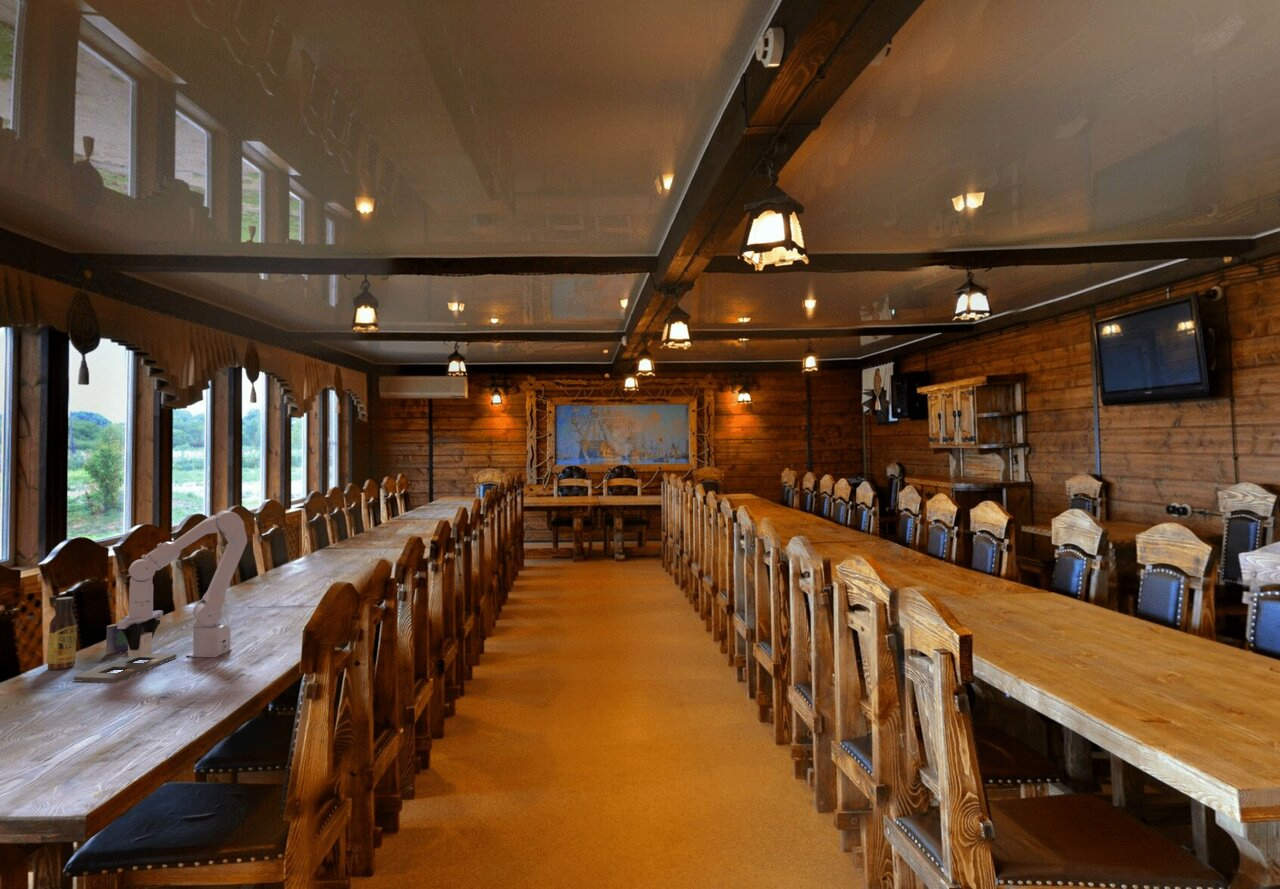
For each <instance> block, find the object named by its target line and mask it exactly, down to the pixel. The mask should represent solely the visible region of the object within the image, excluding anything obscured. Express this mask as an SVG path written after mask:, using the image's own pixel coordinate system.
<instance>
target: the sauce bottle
mask: <svg viewBox="0 0 1280 889" xmlns="http://www.w3.org/2000/svg"><path fill="white" fill-rule="evenodd" d="M74 601H75V600H74V597H73V596H63V597H58V598H55V601H54V603H55V614H54V616H53V618H52V619H51V621H50V623H49V631H48V644H47V645H48V646H47V669H48V670H50V671H55V670H65V669H69V668H72V667H74V666H75V664H76V663H75V662H76V656H77V638H78V637H77V634H78V624H77V622H76V619H75V616H74V610H73V607H74V606H73V605H74ZM73 665H74V666H73Z"/></svg>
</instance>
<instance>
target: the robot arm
mask: <svg viewBox="0 0 1280 889" xmlns="http://www.w3.org/2000/svg"><path fill="white" fill-rule="evenodd" d="M219 531H220V532H221V533H222V534H223V536H224V538H225V539H226V542H227V545H226V547H225V550H224V551H223V553H222V556H221V558H220V560H219V563H218V566H217V568H216V570H215V573H214V575H213V577H212V579H211V581H210V583H209V586H208V589H207V591H206V592H205V593H204V594H203V596H202V599H200V601H199V602H198V603H197V604H196V605H195V606H194V608H193V612H192V613H193V616H194V618H195V619H196V620H195V622H194V623H193V626H192V628H193V630H192V632H193V633H192V638H193V639H192V652H190V653H188V654H186V655H185V657H186V656H189V657H188V658H217V657H220V656H222V655H224V654H226V653H228V651H229V652H230V650H231V651H232V650H233V649H232V648H231V628H230V627H229V626H228V625H224V624H222V621H221V618H222V609H223V605H224V599H225V595H226V593H227V591H228V588H229V586H230V583H231V581H232V579H233V576H234V574H235V572H236V569H237V568H238V565H239V562H240V561H241V558H242V556H243V553H244V551H245V548H246V545H247V544H248V538H247V532H246V528H245V521H244V520H243V519H242V518H241V516H240V515H239V514H238V513H237V512H233V511H230V510H227V509H224V510H219V511H218V512H217V513H215V515H214V514H213V515H211V516H209V517H207V518H205V519H204V520H202V521H201V522H199V523H198V524H197V525H195V526H194V527H192V528H191V529H190V530H188V531H187V532H186V533H184V534H183V535H181V536H180V537H178V538H177V539H175V540H174V541H165V542H163V543H162V542H159V543H158V544H156V547H155V548H154V549H153V550H151V551H149V552H148V553H147V554H142V555H141V558H140V559H136V560H134V561H133V562H131V564H130V566H129V567H128V574H129V575H130V579H129V589H128V590H129V591H128V615H126V616H125V617H126V619H124V620H122V619H121V620H120V621H117V623H116V624H117V629H120V630H121V631H122V632H123V634H124V635H125V637H126V639H127V642H128V645H129V648H130V650H138V649H139V643H140V636H141V632H142V630H143V629H144V632H151V633H152V640H153V638H154V635H155V632H156V630H157V628H158V627H159V625H160V623H161V619H159V618H162V617H163V615H164V611H163V610H159V609H158V610H154V584H153V577H154V576H155V573H156V571H160V570H161V569H163V568H164V567H166V566H167V565H169V564H171V563H172V562H174V561H175V560H177V558H180V556H181V551H182V550H183V549H185V548H187V547H188V546H189V545H191V544H193V543H195V542H196V541H197V540H199V539H201V538H202V537H203V536H205V535H208V534H218V533H219ZM163 618H164V617H163ZM137 624H139V626H138V625H137ZM223 653H224V654H223ZM221 654H222V655H221ZM219 655H220V656H219Z"/></svg>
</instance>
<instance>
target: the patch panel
mask: <svg viewBox="0 0 1280 889" xmlns="http://www.w3.org/2000/svg"><path fill="white" fill-rule="evenodd" d="M175 657H176V658H177V654H176V653H150V654H148V655H145V656H142V657H128V656H127V657H124V658H121V659H119V660H115V661H113V662H111V663H108V664H106V665H102V666H99V667H97V668H95V669H92V670H89V671H87V672H84V673H81V674H78V675H75V676H73V681H74V680H82V681H81V682H84V681H109V682H108V683H118V682H120V681H119V680H121V681H123V680H125V679H124V678H126V677H128V678H130V677H129V676H131V675H133V674H135V675H137V674H136V673H138V672H140V673H142V672H141V671H143V670H145V671H147V670H146V669H148V668H150V667H153V666H155V665H158V664H160V663H162V662H165V661H167V660H170V659H172V658H175ZM176 658H175V659H176ZM138 660H149V661H147V662H144V663H133V662H135V661H138ZM170 661H171V660H170ZM165 663H166V662H165ZM160 665H161V664H160ZM158 666H159V665H158ZM155 667H156V666H155ZM153 668H154V667H153ZM150 669H151V668H150ZM113 670H123V671H121V672H118V673H107V672H110V671H113ZM148 670H149V669H148ZM143 672H144V671H143ZM138 674H139V673H138ZM133 676H134V675H133ZM131 677H132V676H131ZM122 679H123V680H122ZM126 679H127V678H126ZM117 681H118V682H117Z"/></svg>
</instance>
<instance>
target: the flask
mask: <svg viewBox="0 0 1280 889" xmlns="http://www.w3.org/2000/svg"><path fill="white" fill-rule="evenodd" d="M120 619H121V621H122V620H124V619H126V616H122V617H120ZM137 625H138V626H139V624H137ZM105 645H106V647H105V651H106V652H105V655H106V654H107V655H106V656H110V655H111V654H114V655H116V654H115V653H118V654H121V653H120V652H123V653H125V652H124V651H128V642H127V639H126V637H125V635H124V634H123V632H122V631H121V630H120V629H117V623H114V624H110V625H107V626H106V643H105Z"/></svg>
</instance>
